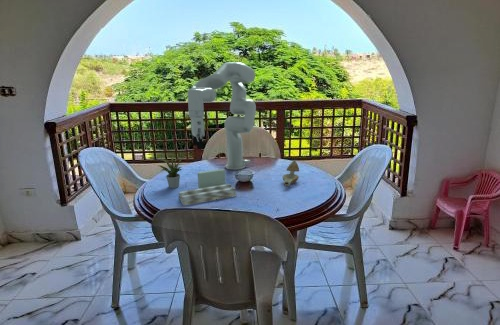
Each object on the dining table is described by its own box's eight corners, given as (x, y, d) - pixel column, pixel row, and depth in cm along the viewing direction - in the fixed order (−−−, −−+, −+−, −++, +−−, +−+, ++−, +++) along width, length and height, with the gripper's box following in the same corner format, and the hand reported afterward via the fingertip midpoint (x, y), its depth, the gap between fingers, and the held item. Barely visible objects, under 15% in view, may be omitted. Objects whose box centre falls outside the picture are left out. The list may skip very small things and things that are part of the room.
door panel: (224, 184, 180) (223, 168, 178) (225, 186, 178) (224, 169, 176) (198, 188, 175) (197, 172, 173) (199, 190, 173) (198, 173, 170)
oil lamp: (301, 177, 190) (302, 160, 187) (294, 190, 170) (294, 171, 168) (286, 176, 192) (286, 159, 190) (277, 188, 173) (277, 170, 170)
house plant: (179, 179, 189) (177, 151, 185) (194, 185, 180) (192, 155, 175) (156, 186, 180) (153, 156, 175) (170, 192, 170) (168, 161, 166)
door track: (229, 189, 173) (229, 183, 172) (236, 196, 164) (236, 189, 163) (178, 197, 163) (178, 191, 162) (183, 205, 155) (183, 198, 154)
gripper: (208, 115, 163) (209, 149, 168) (199, 111, 178) (201, 143, 183) (192, 116, 160) (194, 151, 165) (185, 112, 176) (187, 144, 180)
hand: (198, 146), depth 174 cm, fingers open, 9 cm apart
